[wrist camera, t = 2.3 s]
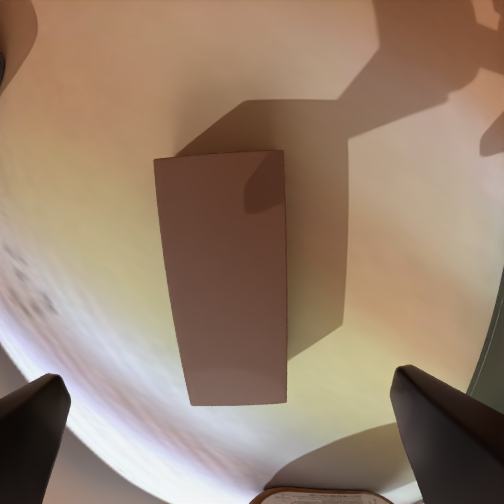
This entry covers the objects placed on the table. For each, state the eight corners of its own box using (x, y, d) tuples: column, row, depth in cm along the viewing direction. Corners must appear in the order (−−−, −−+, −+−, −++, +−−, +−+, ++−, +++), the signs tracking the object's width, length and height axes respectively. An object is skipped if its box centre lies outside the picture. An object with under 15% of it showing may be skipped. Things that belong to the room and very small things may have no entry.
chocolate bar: (275, 150, 14) (283, 150, 11) (281, 365, 17) (286, 403, 14) (171, 157, 14) (152, 159, 11) (198, 368, 17) (190, 406, 14)
